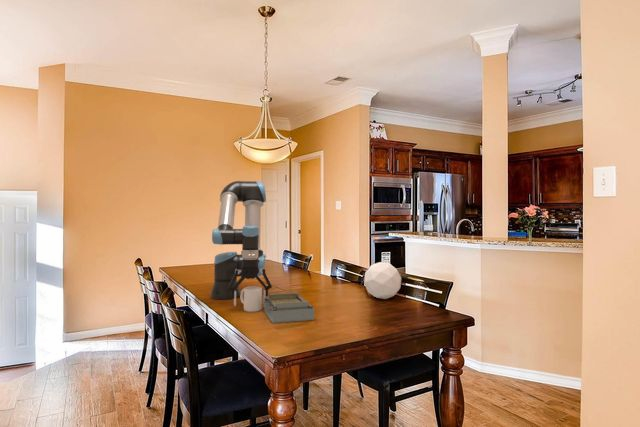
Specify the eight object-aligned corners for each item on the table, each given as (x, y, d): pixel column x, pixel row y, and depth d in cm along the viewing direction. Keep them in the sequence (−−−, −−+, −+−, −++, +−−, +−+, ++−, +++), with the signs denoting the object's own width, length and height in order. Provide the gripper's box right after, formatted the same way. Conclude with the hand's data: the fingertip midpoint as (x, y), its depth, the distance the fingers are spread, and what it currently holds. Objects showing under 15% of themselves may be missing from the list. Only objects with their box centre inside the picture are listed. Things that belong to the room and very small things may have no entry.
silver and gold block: (263, 309, 183) (263, 293, 183) (301, 307, 188) (301, 291, 188) (272, 323, 162) (272, 305, 162) (314, 319, 167) (314, 302, 167)
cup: (252, 313, 177) (253, 290, 177) (234, 308, 184) (234, 287, 184) (265, 309, 184) (265, 287, 184) (246, 305, 191) (247, 284, 191)
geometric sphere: (382, 308, 216) (393, 276, 225) (401, 303, 198) (412, 268, 207) (353, 291, 213) (365, 260, 222) (369, 285, 196) (382, 251, 205)
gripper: (223, 260, 176) (222, 307, 176) (278, 258, 184) (277, 304, 184) (222, 258, 183) (221, 303, 183) (275, 257, 191) (274, 300, 191)
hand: (249, 304), depth 184 cm, fingers open, 13 cm apart
